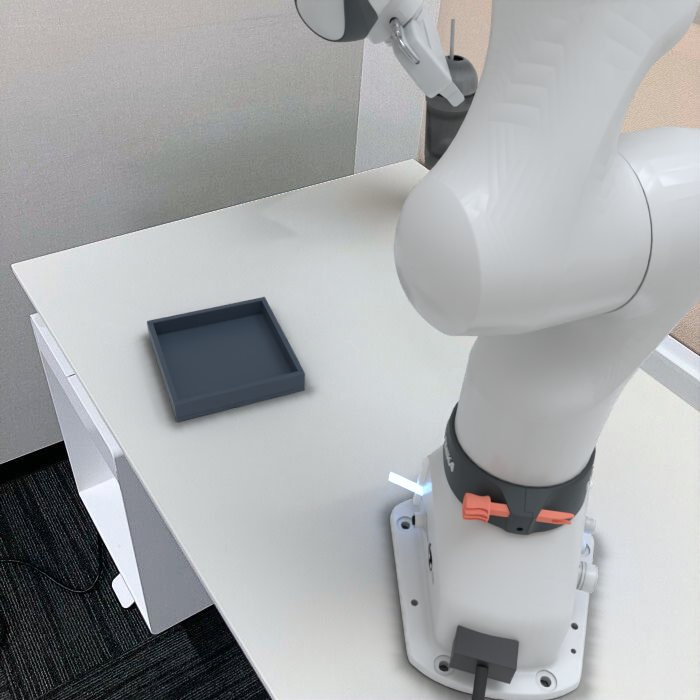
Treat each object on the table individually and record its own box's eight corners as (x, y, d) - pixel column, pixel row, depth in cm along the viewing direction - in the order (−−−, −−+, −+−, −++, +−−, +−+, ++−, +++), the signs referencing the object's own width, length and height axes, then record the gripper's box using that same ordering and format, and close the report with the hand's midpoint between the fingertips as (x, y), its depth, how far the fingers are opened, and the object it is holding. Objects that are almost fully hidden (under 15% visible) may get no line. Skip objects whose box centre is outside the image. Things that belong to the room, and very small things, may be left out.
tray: (304, 390, 82) (305, 373, 80) (176, 422, 77) (174, 405, 75) (265, 313, 91) (264, 296, 89) (149, 337, 87) (146, 320, 85)
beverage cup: (448, 183, 103) (471, 36, 90) (404, 165, 106) (421, 21, 93) (474, 164, 107) (500, 22, 94) (432, 148, 111) (451, 8, 97)
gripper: (416, 17, 83) (486, 105, 90) (403, -34, 98) (465, 45, 105) (373, 55, 86) (445, 137, 93) (368, 0, 101) (430, 74, 108)
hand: (455, 88), depth 99 cm, fingers closed on beverage cup, 7 cm apart
